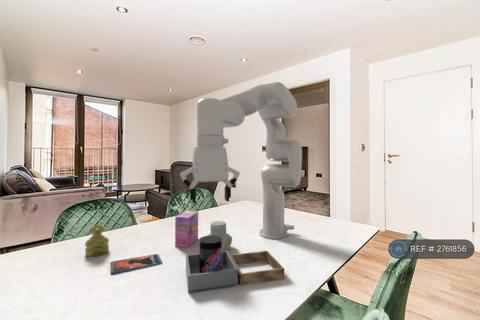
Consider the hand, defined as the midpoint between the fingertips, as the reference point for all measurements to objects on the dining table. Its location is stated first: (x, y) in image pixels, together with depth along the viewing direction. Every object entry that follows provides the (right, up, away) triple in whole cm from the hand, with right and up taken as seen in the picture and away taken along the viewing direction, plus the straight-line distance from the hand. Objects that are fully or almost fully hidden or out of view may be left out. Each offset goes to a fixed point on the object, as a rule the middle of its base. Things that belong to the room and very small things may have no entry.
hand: (210, 201), depth 69 cm
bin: (0, -22, 0) cm, 22 cm away
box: (-13, -22, +27) cm, 37 cm away
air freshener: (0, -22, +21) cm, 30 cm away
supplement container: (0, -22, +1) cm, 22 cm away
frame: (+13, -22, +4) cm, 26 cm away
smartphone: (-25, -23, +8) cm, 35 cm away
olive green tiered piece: (-43, -22, +17) cm, 51 cm away
